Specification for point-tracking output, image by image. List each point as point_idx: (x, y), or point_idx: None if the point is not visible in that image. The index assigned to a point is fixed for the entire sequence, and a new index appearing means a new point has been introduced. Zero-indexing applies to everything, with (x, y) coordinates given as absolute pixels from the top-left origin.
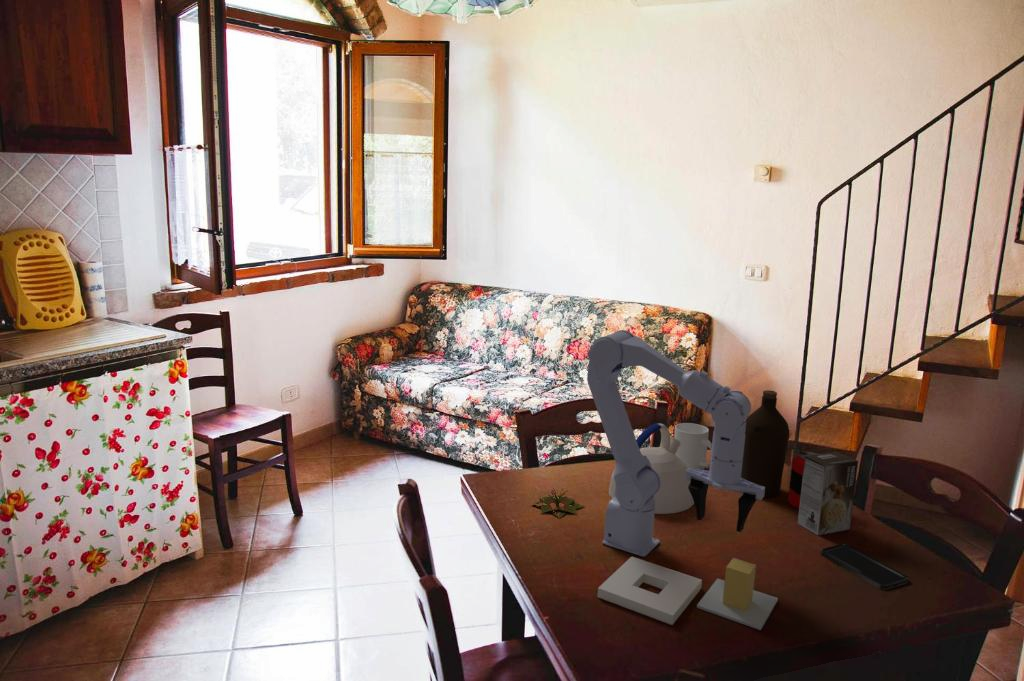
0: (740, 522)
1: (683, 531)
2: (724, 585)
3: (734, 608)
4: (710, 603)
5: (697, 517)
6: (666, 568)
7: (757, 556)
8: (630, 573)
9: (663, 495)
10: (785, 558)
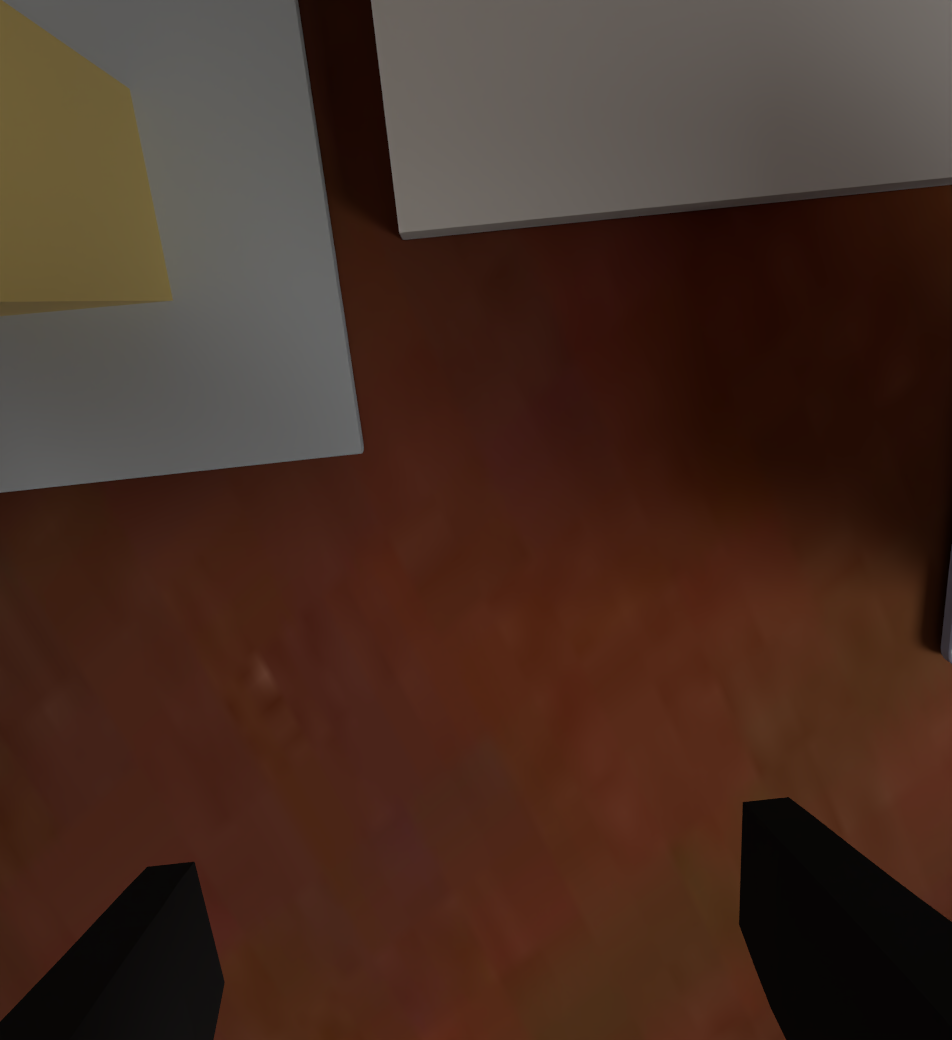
0: (44, 997)
1: None
2: (33, 22)
3: None
4: (201, 1)
5: (806, 812)
6: (742, 189)
7: (315, 930)
8: None
9: None
10: None
